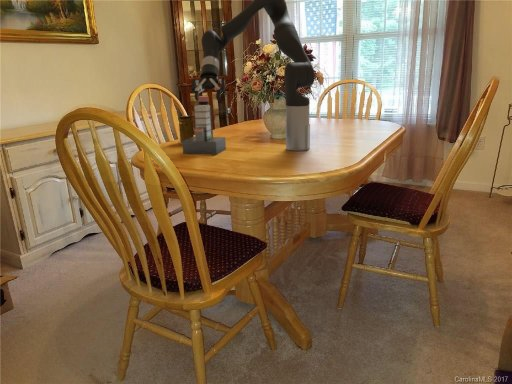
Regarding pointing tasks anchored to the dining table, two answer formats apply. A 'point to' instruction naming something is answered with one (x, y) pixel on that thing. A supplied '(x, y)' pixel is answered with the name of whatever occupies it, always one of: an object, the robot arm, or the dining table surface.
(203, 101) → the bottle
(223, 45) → the robot arm
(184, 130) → the condiment
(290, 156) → the dining table surface
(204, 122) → the column
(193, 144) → the stand base
